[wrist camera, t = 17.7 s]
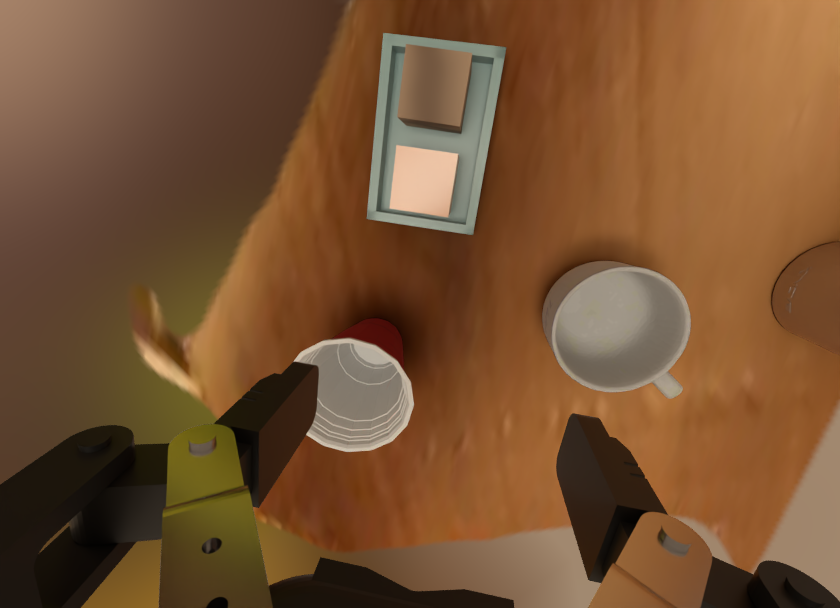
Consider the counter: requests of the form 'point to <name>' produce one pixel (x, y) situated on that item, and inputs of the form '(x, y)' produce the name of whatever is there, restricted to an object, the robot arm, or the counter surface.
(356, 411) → the plastic cup
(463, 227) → the tray
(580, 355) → the teacup
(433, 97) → the walnut cube
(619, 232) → the counter surface
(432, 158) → the terracotta cube
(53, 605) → the robot arm
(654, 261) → the counter surface
